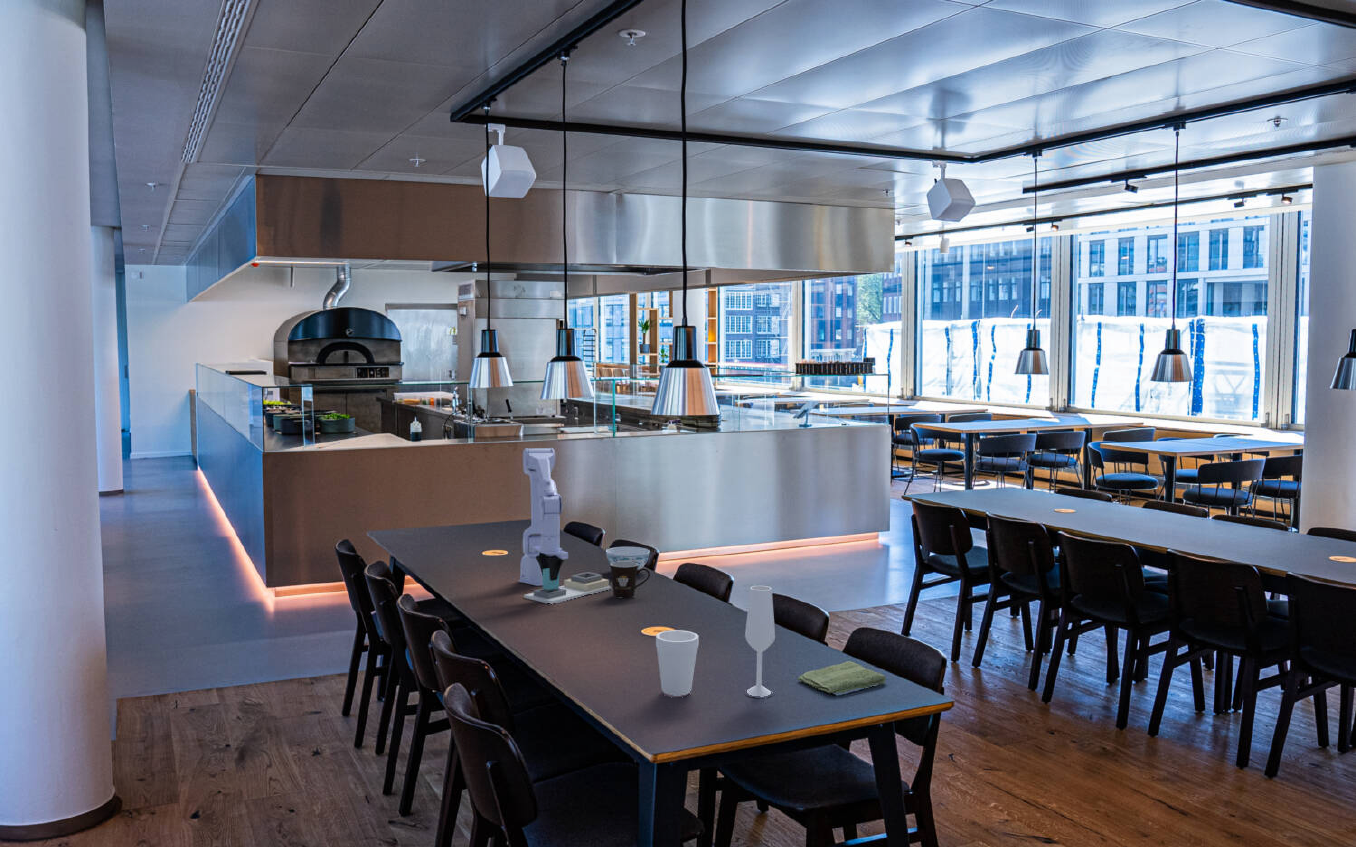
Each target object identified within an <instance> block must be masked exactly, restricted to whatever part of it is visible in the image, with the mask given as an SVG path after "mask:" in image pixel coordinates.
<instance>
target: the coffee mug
mask: <svg viewBox="0 0 1356 847" xmlns="http://www.w3.org/2000/svg"><path fill="white" fill-rule="evenodd" d="M609 564H610V563H609ZM610 571H611V572H610V573H611V574H610V576H611V583H612V593H613V594H612V595H613V597H614V596H616V597H622V598H621V599H630V598H629V597H632V598H634V597H635V592H636V589H637V588H638V587H639V586H642V585H643V584H645V583H646V582H647V581H648V580H649V579H650V576H651V573H650V571H649V570H648V569H647V568H643V567H642V568H641V569H639V570H638V563H635V562H628V561H620V562H613V563H611V564H610ZM642 571H645V572H646V573H647V574H648V576H647V578H646V579H644V580H643V581H641V582H640V583H638V584H637V576H638V575H639V574H640V572H642ZM633 596H634V597H633ZM616 597H615V598H616Z"/></svg>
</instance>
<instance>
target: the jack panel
mask: <svg viewBox="0 0 1356 847" xmlns="http://www.w3.org/2000/svg"><path fill="white" fill-rule="evenodd" d="M563 583H564V584H563V585H561V586H560V585H559V588H557V589H552V590H547V589H543V588H539V589H534V590H533V592H531V593H530V592H529V593H527V594H524V599H527V600H530V601H531V600H532V601H536V602H541V603H542V604H543V603H544V604H547V603H550V604H549V605H551V604H552V605H554V604H553V603H556V604H559V603H564V602H568V601H571V600H570V599H572V600H575V599H574V598H576V599H579V598H578V597H580V598H582V597H581V596H584V595H587V594H592V595H595V594H594V593H596V594H598V593H599V592H600V593H603V592H602V591H604V592H607V591H606V590H608V591H610V590H609V589H611V590H612V586H610V585H609V584H610V580H609V579H608V578H607V579H606V578H603V575H602V574H599V573H594V572H589V571H587V572H582V573H578V574H573V575H570V578H568V579H564V580H563ZM584 597H585V596H584ZM567 600H568V601H567Z"/></svg>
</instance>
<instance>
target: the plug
mask: <svg viewBox="0 0 1356 847" xmlns="http://www.w3.org/2000/svg"><path fill="white" fill-rule="evenodd" d="M559 587H560V573H559V574H558V577H557V580H554V581H551V580H550V571H549V568H546V569H543V585H542V589H547V590H552V589H557V588H559Z"/></svg>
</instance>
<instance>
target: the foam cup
mask: <svg viewBox="0 0 1356 847" xmlns="http://www.w3.org/2000/svg"><path fill="white" fill-rule="evenodd" d="M699 642H700V641H699V635H698V634H697V633H696V632H693V631H689V630H682V629H678V630H677V629H675V630H663V631H661V632H657V634H656V635H655V647H656V651H657V660H658V667H659V677H660V685H661V692H662V691H663V692H664V693H666V694H669V695H673V696H681V695H686V694H688V693H690V691H692V688H693V679H694V672H695V668H696V667H695V666H696V660H697V655H698V654H697V652H698V648H699V645H700V644H699ZM690 694H691V693H690Z"/></svg>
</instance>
